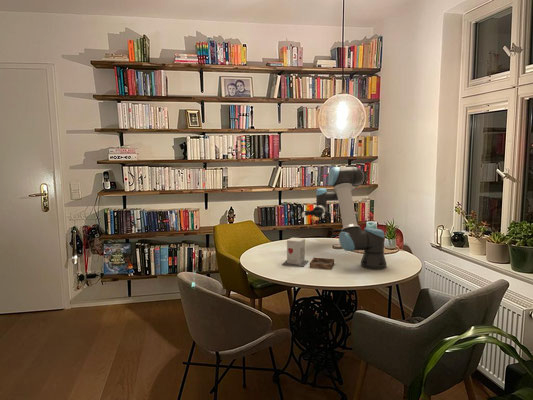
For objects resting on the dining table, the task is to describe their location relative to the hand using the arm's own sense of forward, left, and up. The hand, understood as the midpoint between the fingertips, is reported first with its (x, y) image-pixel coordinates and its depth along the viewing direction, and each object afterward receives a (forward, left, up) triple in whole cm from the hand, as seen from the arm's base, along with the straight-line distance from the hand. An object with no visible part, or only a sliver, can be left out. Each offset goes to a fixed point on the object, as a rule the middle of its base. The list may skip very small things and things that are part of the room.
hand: (312, 215), depth 248 cm
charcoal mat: (+7, +17, -28) cm, 34 cm away
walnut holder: (-10, +17, -28) cm, 34 cm away
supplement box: (+7, +17, -28) cm, 33 cm away
